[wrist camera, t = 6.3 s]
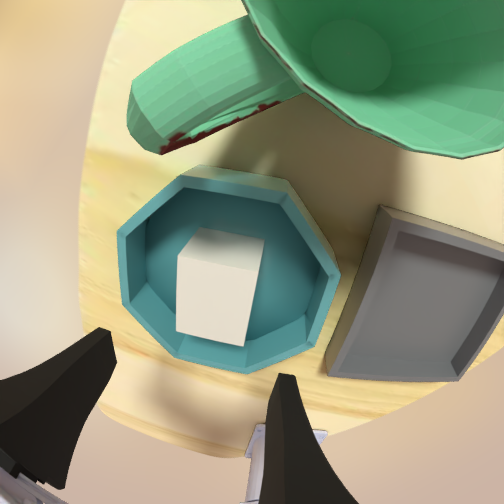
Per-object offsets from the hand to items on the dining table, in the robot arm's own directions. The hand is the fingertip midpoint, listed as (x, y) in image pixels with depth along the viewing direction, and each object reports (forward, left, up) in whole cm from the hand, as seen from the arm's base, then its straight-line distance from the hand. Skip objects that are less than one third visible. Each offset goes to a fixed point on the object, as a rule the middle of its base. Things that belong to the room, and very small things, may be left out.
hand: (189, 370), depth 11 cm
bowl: (0, 0, -9) cm, 9 cm away
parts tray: (0, -15, -9) cm, 18 cm away
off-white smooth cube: (0, 0, -9) cm, 9 cm away
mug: (+13, -3, -9) cm, 16 cm away
